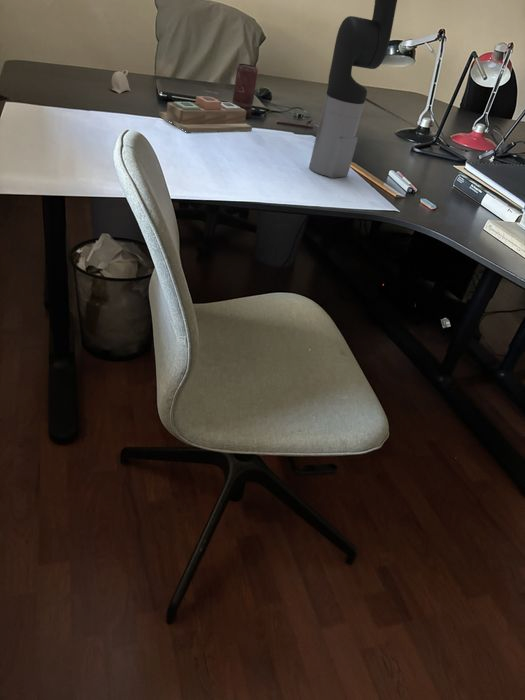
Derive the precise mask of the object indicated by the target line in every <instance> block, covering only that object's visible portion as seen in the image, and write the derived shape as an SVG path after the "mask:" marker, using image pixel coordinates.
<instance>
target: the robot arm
mask: <svg viewBox="0 0 525 700" xmlns="http://www.w3.org/2000/svg"><path fill="white" fill-rule="evenodd" d="M397 4H398V0H374V4H373V5H374V6H373V7H374V8H373V14H372V18H371V19H369V18H364V17H358V16H355V15H354V16H351V15H349V16H347V17H345V18H343V21H342V22H341V24H340V26H339V27H338V31H337V34H336V38H335V44H334V49H333V54H332V60H331V65H330V69H329V74H328V82H327V89H326V93H325V98H324V103H323V106H322V110H321V115H320V119H319V122H318V123H319V124H318V127H317V131H316V137H315V141H314V145H313V147H312V148H313V149H312V154H311V157H310V162H309V165H308V167H309V169H310V171H313V172H315V173H316V174H319V175H323V176H326V177H328V178H331V179H334V178H342V177H343V178H344V177H348V175H349V173H350V172H349V171H350V168H351V164H352V161H353V158H354V154H355V150H356V147H357V144H358V140H359V138H358V136H356V134H357V131H358V128H359V127H358V126H359V124H360V120H361V117H362V116H361V115H362V113H363V110H364V106H365V103H366V98H367V95H368V91H367V88H366V87H365V86H364V85H362V84H360V83H358V82H357V81H356V80H355V79H354V77H353V76H352V73H353V72H352V71H353V67H357V68H363V69H368V70H375V69H377V68H379V67H380V65H381V64H382V63H383V61H384V59H385V58H386V55H387V53H388V52H387V51H388V48H389V46H390V41H391V35H392V30H393V26H394V25H393V24H394V20H395V14H396V10H397Z"/></svg>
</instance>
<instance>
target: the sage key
mask: <svg viewBox="0 0 525 700" xmlns="http://www.w3.org/2000/svg"><path fill="white" fill-rule="evenodd" d="M173 102H174V105H175V106H177V107H179V108H181V109H182V110H200V107H198V106H196V105H194V104H192V103H191V102H192V101H191V102H190V101H173Z"/></svg>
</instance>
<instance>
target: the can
mask: <svg viewBox="0 0 525 700" xmlns="http://www.w3.org/2000/svg"><path fill="white" fill-rule="evenodd" d="M258 71H259V70H258V67H257V66H256V65H255V66H254V65H252V64H247V63H238V65H237V67H236V75H235V83H234V87H233V88H234V90H233V96H232V102H231V103H232V104H234V105H236V106H238V107H240V108H242V109H244V110H246V111H247V112H246V118H245V120H247V119H249V118H250V117H251V115H252V110H253V104H254V96H255V90H256V85H257V80H258V73H259V72H258Z"/></svg>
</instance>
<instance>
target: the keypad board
mask: <svg viewBox="0 0 525 700" xmlns="http://www.w3.org/2000/svg"><path fill="white" fill-rule="evenodd" d="M174 102H175V101H167V103H166V111H158V112H159V113H158V117H160V118H161V119H163V120H164V121H166V120H168V121H170V122H172V123H173V124H175V125H176V126H178V127H179V128H181V129H183V130H184V131H186V132H206V133H216V132H215V131H219V132H218V133H233V132H232V131H240V132H252V130H253V126H252V125H251V124H248V123H246V119H245V118H246V112H247V111H246V110H244V109H242V108H241V109H240V110H225V109H223V108H221V110H204V109H202V108H201V107H200V110H182V109H181V108H179V107H177V106H175V105H174ZM191 103H192V104H194V105H195V104H196V101H195V102H193V101H191ZM196 106H197V105H196ZM198 107H199V106H198ZM168 121H167V122H168ZM173 124H172V125H173ZM176 126H175V127H176ZM178 127H177V128H178ZM179 128H178V129H179ZM181 129H180V130H181ZM183 130H182V131H183ZM184 131H183V132H184ZM186 132H185V133H186Z"/></svg>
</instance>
